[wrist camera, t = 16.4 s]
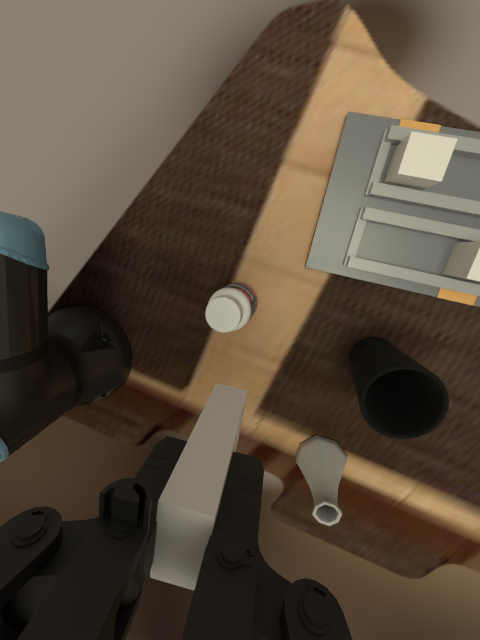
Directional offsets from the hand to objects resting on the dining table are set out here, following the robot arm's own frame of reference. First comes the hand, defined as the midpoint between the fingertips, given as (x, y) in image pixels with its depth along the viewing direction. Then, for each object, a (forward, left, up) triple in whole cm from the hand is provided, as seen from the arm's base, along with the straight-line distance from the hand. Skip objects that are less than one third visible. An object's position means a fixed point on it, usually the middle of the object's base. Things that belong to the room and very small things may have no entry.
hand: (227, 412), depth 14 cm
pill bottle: (-5, -1, -27) cm, 28 cm away
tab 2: (+20, +10, -26) cm, 34 cm away
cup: (+14, -4, -27) cm, 31 cm away
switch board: (+15, +14, -27) cm, 34 cm away
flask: (+12, -21, -27) cm, 36 cm away
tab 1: (+11, +18, -26) cm, 33 cm away
